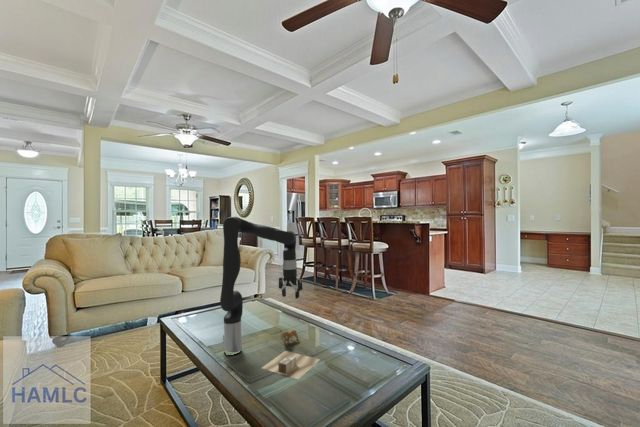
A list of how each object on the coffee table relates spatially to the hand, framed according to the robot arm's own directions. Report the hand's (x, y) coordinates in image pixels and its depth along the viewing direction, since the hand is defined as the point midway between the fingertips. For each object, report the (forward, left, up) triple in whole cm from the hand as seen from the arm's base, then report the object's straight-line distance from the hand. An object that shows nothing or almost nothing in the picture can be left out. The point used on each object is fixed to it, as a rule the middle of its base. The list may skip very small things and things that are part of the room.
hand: (290, 297), depth 157 cm
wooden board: (+7, -11, -30) cm, 33 cm away
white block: (+8, -11, -28) cm, 31 cm away
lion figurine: (-8, +9, -30) cm, 33 cm away
